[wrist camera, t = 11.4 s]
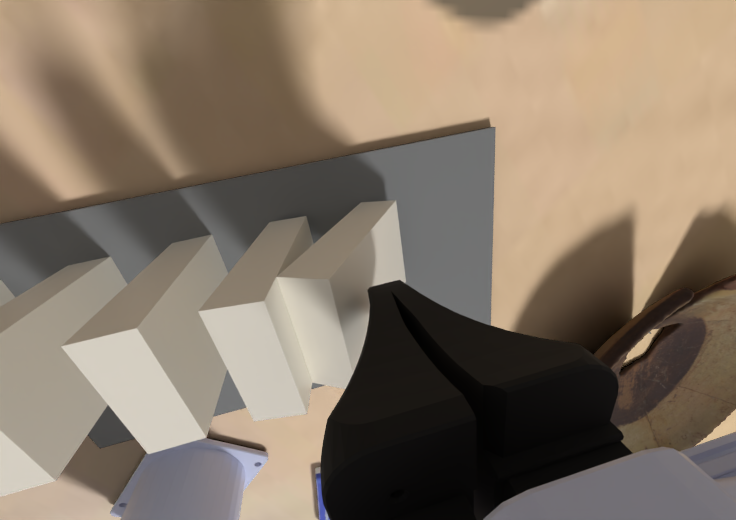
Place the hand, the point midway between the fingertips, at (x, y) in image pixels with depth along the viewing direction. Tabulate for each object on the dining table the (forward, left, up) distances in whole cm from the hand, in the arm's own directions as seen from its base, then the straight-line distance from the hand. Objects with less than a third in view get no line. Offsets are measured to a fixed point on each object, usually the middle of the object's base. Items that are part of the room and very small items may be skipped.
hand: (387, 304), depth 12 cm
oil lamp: (+5, -31, -7) cm, 32 cm away
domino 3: (-2, +2, -6) cm, 7 cm away
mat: (-6, +2, -7) cm, 9 cm away
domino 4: (+1, -1, -6) cm, 6 cm away
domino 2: (-6, +6, -6) cm, 11 cm away
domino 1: (-10, +10, -6) cm, 15 cm away
